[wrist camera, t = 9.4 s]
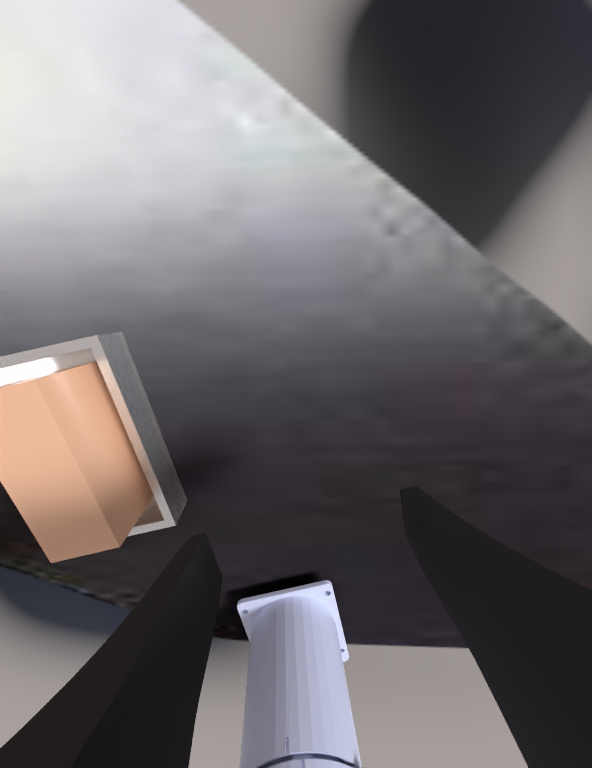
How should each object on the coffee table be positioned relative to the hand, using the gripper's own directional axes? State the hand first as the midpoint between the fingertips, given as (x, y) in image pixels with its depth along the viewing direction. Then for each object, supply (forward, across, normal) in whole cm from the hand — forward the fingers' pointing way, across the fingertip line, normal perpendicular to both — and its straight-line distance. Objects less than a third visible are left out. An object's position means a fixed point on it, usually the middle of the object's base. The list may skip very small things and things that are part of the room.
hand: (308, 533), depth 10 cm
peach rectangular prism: (+10, +13, -2) cm, 16 cm away
